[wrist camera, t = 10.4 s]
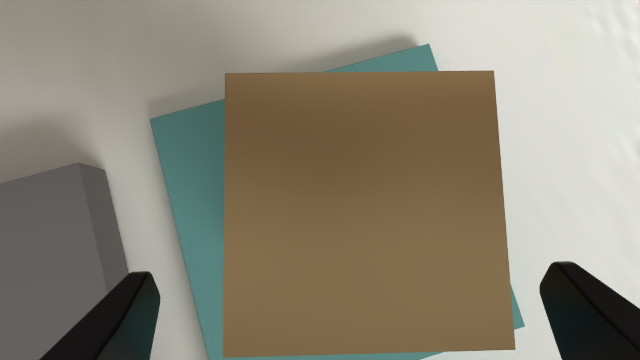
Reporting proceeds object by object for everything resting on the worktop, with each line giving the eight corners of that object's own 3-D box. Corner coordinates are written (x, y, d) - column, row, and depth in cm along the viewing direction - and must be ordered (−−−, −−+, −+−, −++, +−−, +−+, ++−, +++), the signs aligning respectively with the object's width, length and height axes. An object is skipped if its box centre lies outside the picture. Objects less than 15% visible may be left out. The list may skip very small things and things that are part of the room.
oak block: (394, 277, 17) (515, 350, 7) (276, 280, 17) (222, 357, 7) (389, 161, 17) (493, 70, 7) (275, 163, 17) (225, 73, 7)
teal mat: (517, 322, 17) (524, 326, 17) (227, 414, 16) (224, 421, 16) (425, 49, 19) (429, 43, 18) (155, 122, 18) (149, 119, 17)
